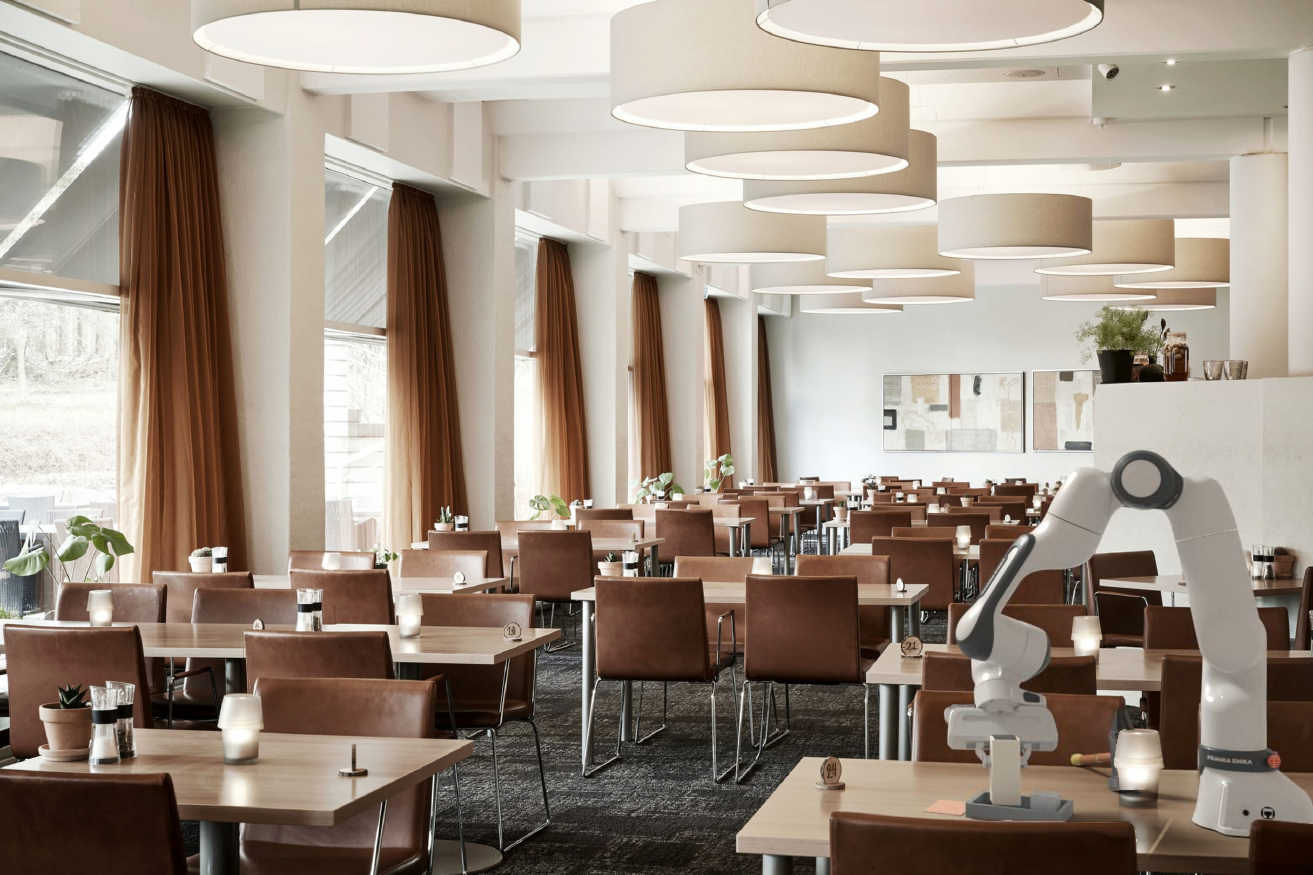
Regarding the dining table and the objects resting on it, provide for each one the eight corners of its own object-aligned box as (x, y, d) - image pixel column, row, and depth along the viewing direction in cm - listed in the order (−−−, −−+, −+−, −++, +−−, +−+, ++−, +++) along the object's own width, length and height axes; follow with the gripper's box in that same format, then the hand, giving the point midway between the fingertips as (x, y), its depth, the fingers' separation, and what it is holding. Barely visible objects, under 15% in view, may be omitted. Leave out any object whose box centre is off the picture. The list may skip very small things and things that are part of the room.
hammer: (1085, 718, 311) (1140, 708, 282) (1092, 791, 307) (1148, 790, 278) (1059, 718, 311) (1111, 709, 282) (1065, 791, 307) (1119, 790, 278)
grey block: (1060, 817, 257) (1060, 792, 257) (1055, 822, 253) (1055, 797, 253) (1035, 814, 259) (1035, 790, 259) (1030, 819, 255) (1030, 794, 255)
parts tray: (1073, 816, 259) (1073, 800, 259) (1060, 830, 249) (1060, 813, 249) (981, 806, 267) (981, 790, 267) (965, 819, 256) (965, 803, 256)
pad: (976, 806, 267) (976, 803, 267) (960, 818, 257) (960, 815, 257) (940, 802, 270) (940, 799, 270) (923, 814, 260) (923, 810, 260)
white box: (1017, 799, 261) (1016, 734, 262) (1020, 805, 256) (1020, 739, 257) (990, 798, 262) (989, 734, 262) (993, 804, 257) (992, 738, 257)
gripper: (944, 694, 268) (948, 755, 258) (1053, 696, 265) (1063, 757, 255) (942, 714, 272) (947, 775, 262) (1050, 716, 270) (1059, 777, 260)
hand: (1005, 766), depth 259 cm, fingers closed on white box, 5 cm apart
